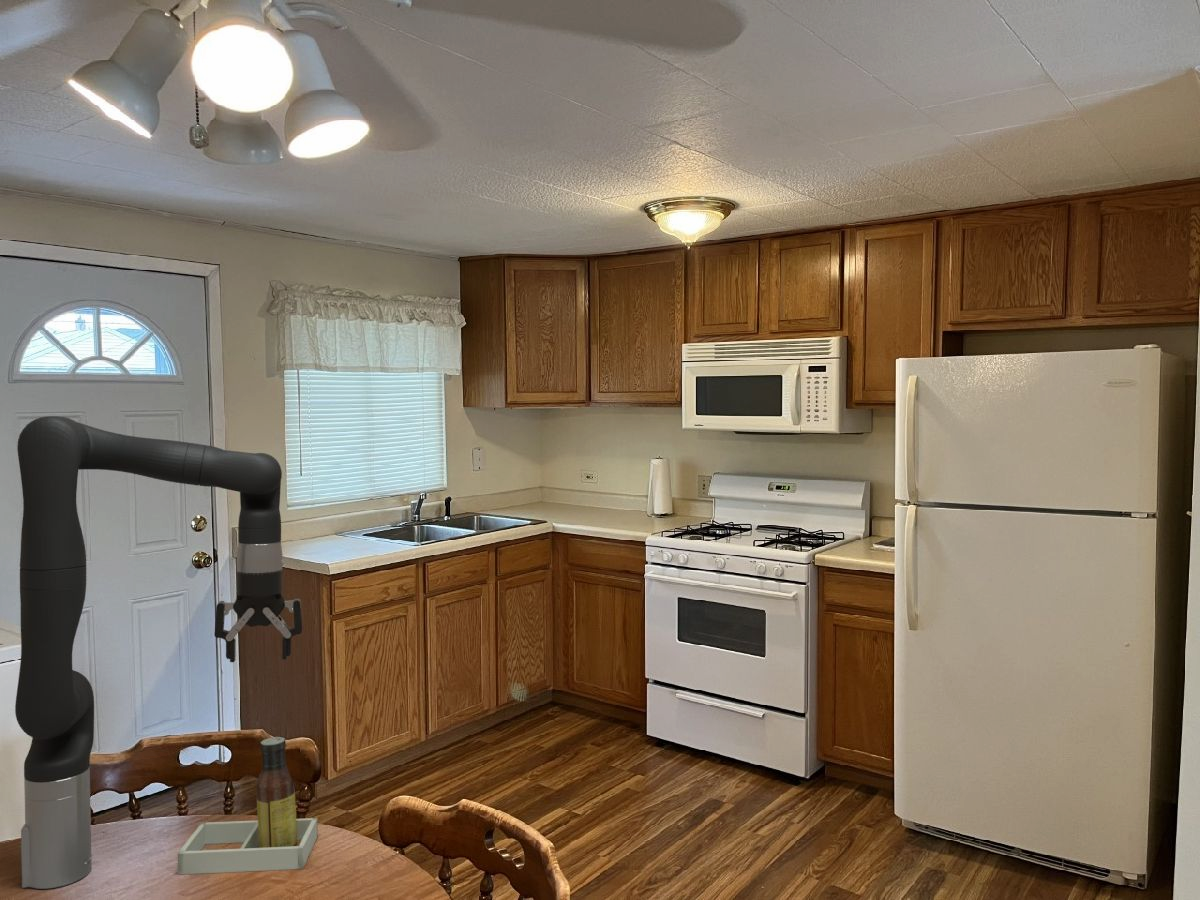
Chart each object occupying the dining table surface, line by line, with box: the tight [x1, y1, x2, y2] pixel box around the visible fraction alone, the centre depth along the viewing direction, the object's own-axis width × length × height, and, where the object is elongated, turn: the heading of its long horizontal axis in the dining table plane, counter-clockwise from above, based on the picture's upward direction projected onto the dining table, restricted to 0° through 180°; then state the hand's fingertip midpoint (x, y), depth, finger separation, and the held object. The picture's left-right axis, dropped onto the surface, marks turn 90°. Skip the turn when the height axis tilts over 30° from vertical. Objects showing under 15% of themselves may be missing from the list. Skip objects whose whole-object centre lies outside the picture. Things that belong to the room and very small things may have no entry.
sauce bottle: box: [256, 736, 298, 848], centre depth 156 cm, size 7×6×20 cm
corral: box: [177, 817, 319, 876], centre depth 156 cm, size 20×12×4 cm, turn 96°
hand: (259, 659), depth 159 cm, fingers open, 8 cm apart
